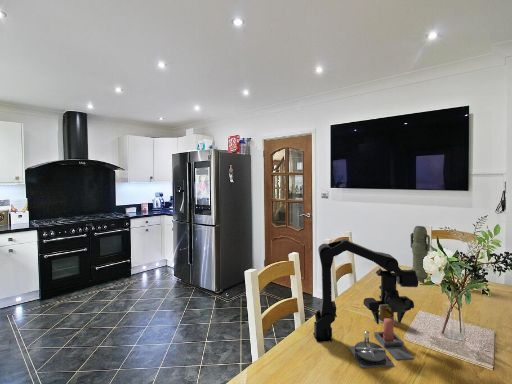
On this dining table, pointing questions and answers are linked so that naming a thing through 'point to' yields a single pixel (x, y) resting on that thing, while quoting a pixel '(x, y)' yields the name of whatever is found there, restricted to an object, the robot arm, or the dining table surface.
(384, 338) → the pink rounded cylinder
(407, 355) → the mat
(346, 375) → the dining table surface
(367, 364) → the wheel base
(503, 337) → the dining table surface
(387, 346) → the collar
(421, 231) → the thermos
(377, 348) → the handwheel
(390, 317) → the condiment
